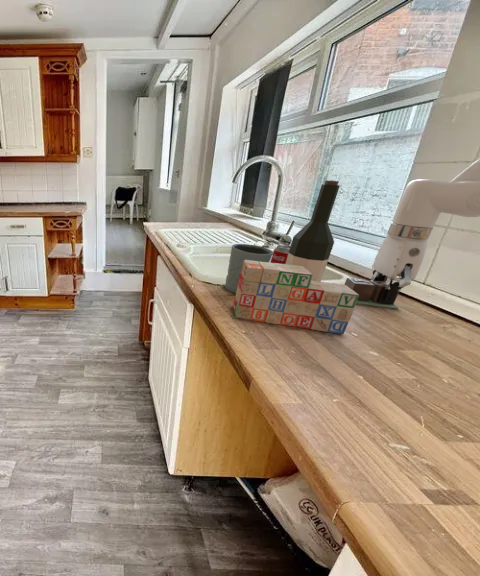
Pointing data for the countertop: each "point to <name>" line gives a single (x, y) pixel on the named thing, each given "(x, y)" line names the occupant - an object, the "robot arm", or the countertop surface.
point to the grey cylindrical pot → (237, 259)
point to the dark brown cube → (360, 288)
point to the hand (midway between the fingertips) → (378, 298)
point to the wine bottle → (315, 235)
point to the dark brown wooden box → (378, 290)
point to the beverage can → (280, 254)
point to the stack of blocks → (292, 298)
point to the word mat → (376, 304)
